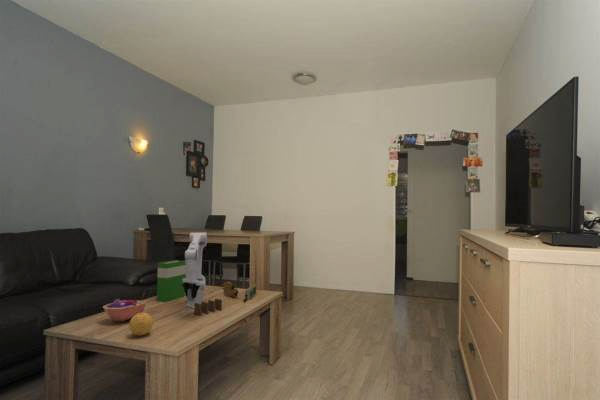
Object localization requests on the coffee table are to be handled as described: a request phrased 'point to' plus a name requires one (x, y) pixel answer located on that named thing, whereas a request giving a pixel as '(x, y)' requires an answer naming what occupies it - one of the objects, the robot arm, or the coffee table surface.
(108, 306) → the cell model
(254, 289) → the handheld radio
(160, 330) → the coffee table surface
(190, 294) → the domino
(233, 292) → the wooden carving
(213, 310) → the domino
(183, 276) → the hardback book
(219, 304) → the domino
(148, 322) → the stress ball
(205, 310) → the domino
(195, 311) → the domino
